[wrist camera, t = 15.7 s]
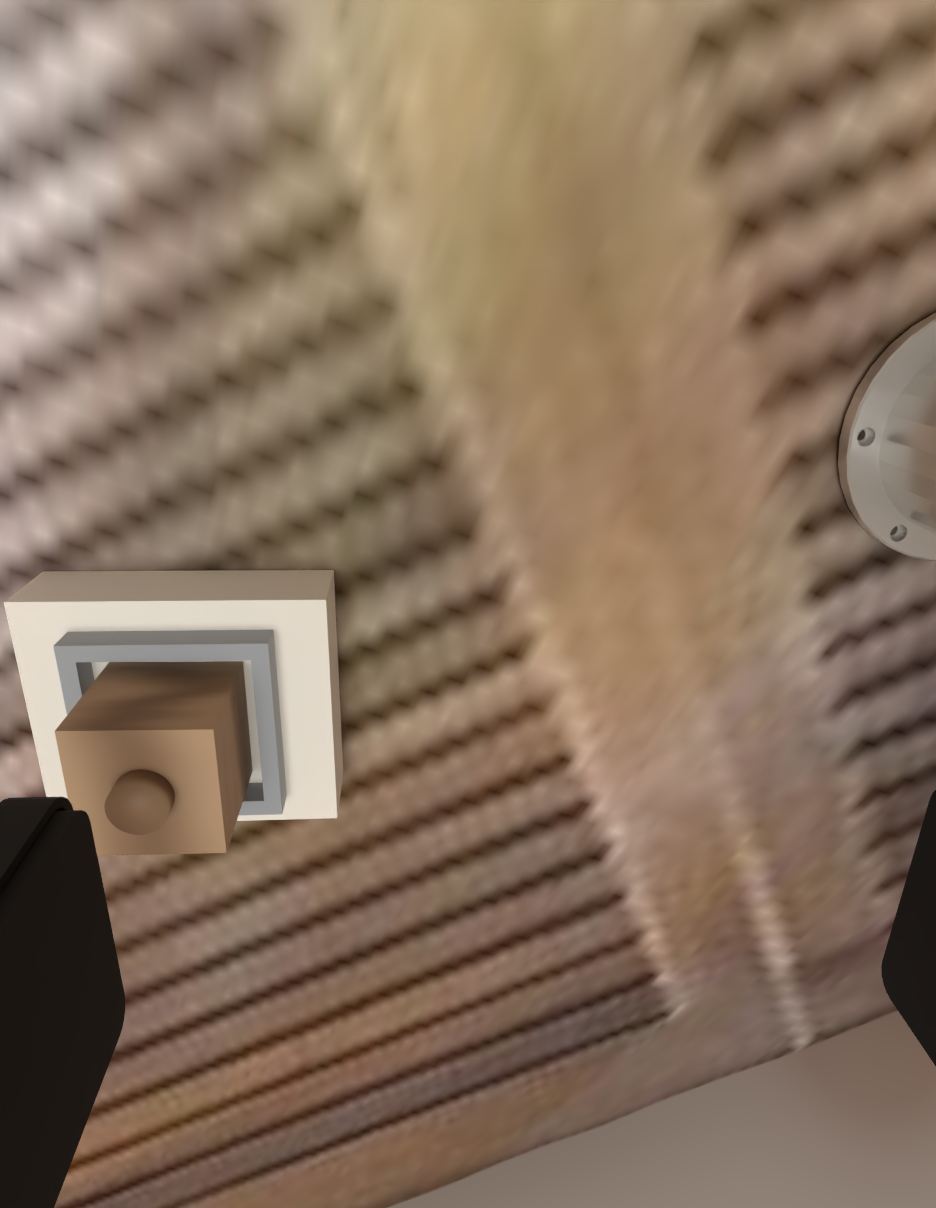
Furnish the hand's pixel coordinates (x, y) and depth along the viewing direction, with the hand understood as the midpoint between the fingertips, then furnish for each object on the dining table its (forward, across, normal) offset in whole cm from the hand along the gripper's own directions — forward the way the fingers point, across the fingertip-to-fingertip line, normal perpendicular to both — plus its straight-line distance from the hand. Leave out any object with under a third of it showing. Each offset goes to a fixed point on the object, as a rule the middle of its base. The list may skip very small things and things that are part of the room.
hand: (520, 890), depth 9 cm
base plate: (+30, +12, +13) cm, 35 cm away
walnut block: (+26, +12, +13) cm, 32 cm away
